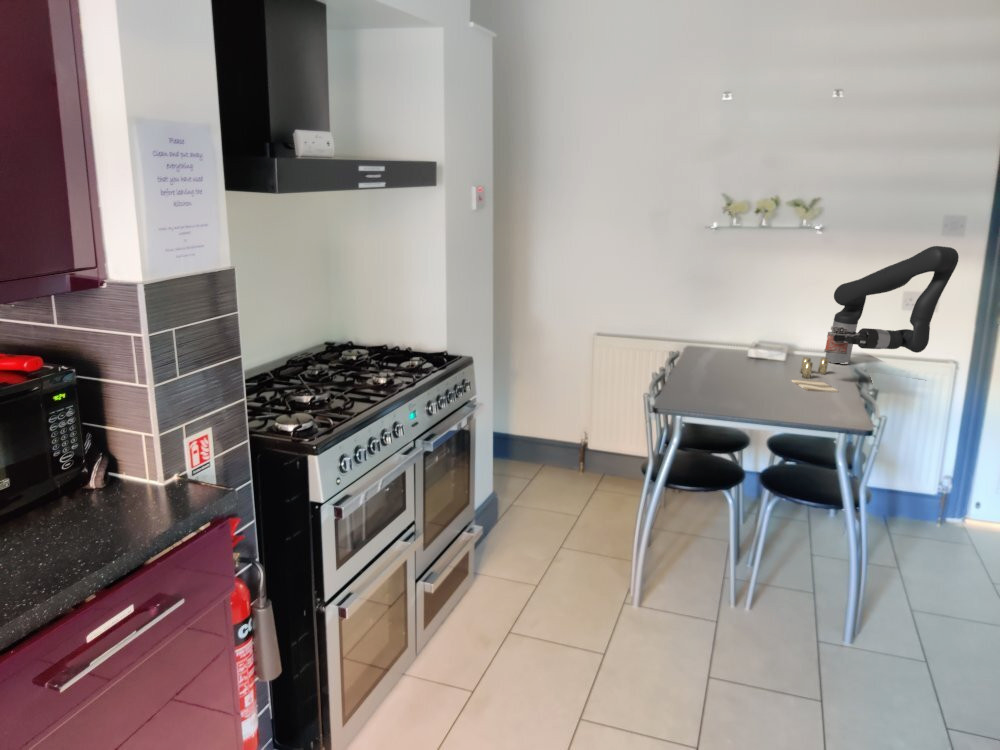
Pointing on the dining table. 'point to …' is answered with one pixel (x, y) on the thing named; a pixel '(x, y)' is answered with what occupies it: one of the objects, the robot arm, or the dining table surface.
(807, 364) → the spacer posts
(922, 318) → the robot arm
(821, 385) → the pad
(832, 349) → the lighter
